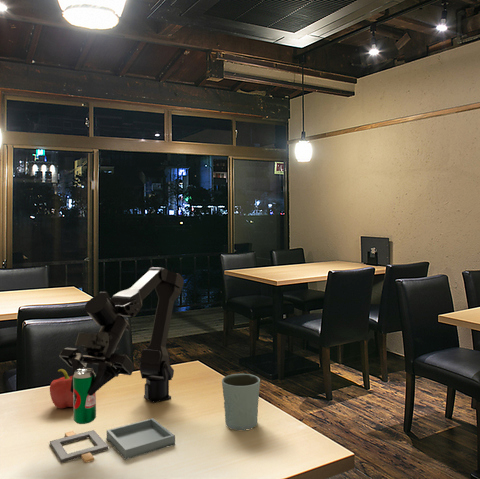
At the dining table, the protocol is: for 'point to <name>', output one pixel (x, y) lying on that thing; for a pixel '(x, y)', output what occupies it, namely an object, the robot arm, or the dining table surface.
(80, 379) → the soda can
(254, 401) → the grey-green cup
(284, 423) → the dining table surface
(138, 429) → the parts tray
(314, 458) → the dining table surface
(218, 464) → the dining table surface
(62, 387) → the vegetable
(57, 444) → the grey rectangular frame
